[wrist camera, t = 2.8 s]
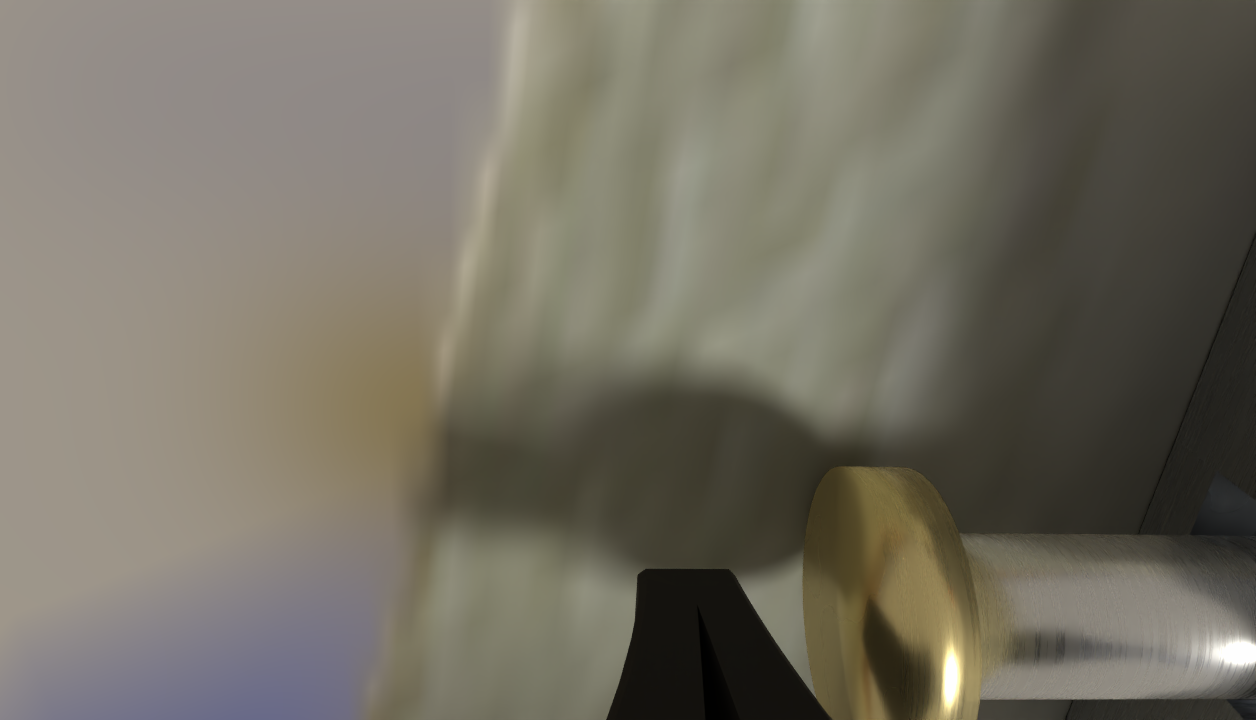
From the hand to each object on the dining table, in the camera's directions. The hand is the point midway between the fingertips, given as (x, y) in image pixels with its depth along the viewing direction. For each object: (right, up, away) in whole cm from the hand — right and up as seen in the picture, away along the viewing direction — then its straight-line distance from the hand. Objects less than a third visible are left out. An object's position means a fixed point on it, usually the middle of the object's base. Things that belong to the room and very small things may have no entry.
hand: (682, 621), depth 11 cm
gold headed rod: (+7, +1, +3) cm, 8 cm away
